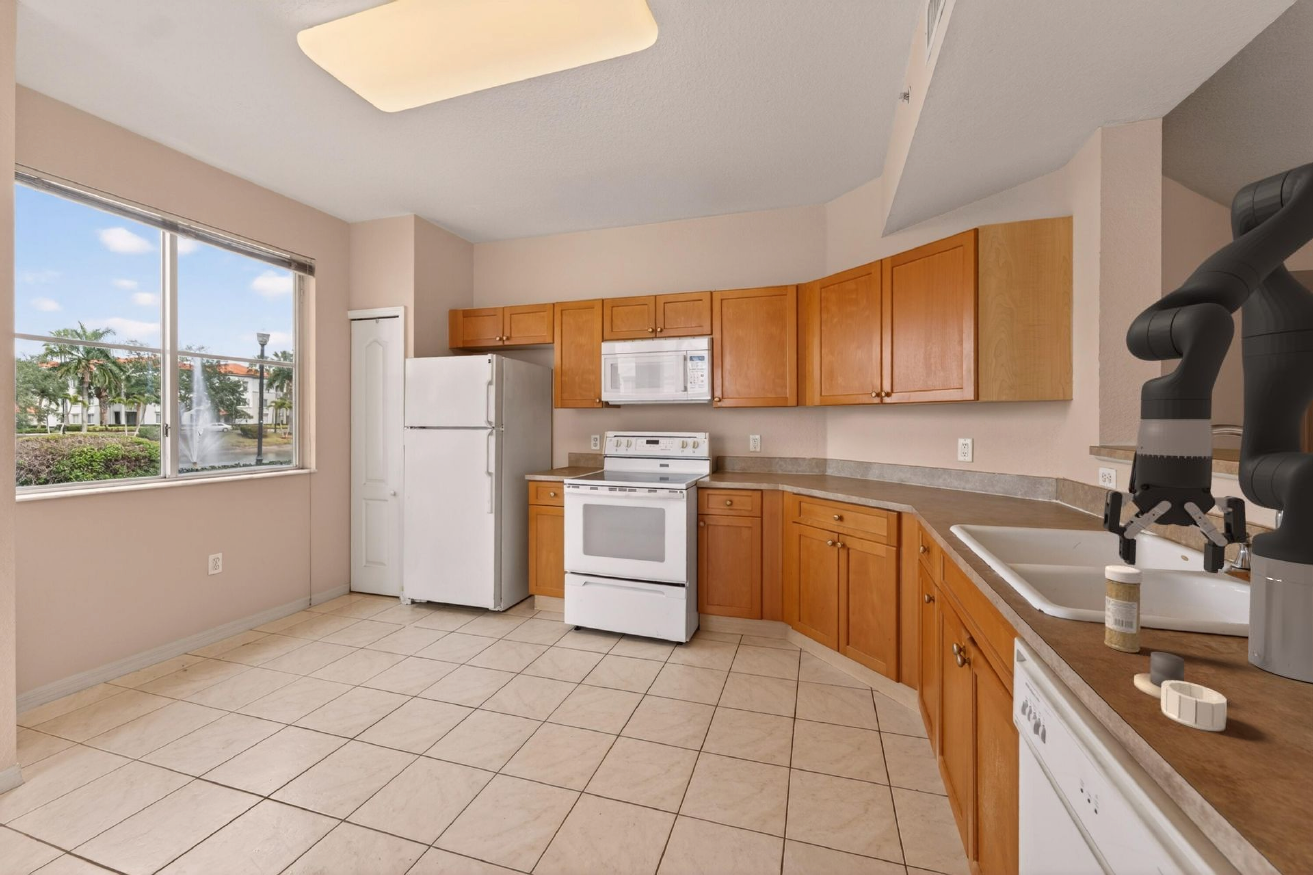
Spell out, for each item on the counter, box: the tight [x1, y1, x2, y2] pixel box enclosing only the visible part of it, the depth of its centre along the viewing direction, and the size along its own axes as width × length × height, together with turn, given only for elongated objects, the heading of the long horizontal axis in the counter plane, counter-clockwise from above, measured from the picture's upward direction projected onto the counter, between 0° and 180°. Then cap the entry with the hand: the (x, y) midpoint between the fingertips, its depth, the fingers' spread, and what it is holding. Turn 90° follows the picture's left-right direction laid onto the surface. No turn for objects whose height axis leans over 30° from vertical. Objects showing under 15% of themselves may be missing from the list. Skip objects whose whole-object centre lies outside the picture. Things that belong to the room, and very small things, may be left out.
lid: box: [1133, 651, 1185, 700], centre depth 74 cm, size 7×7×5 cm
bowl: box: [1160, 680, 1228, 732], centre depth 67 cm, size 6×6×4 cm
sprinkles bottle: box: [1103, 565, 1143, 653], centre depth 88 cm, size 5×5×13 cm
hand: (1169, 567), depth 73 cm, fingers open, 8 cm apart
